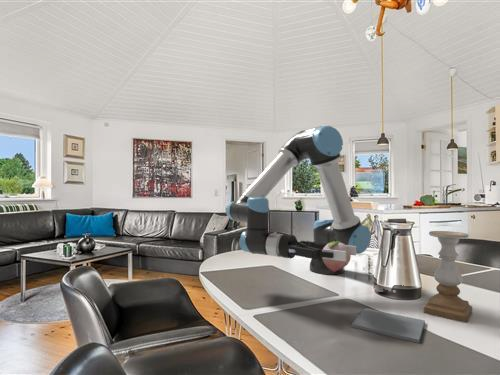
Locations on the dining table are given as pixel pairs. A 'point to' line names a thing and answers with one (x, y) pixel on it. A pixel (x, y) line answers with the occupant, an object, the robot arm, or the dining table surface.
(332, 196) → the robot arm
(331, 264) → the decorative fruit
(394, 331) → the mat
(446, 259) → the candle holder
